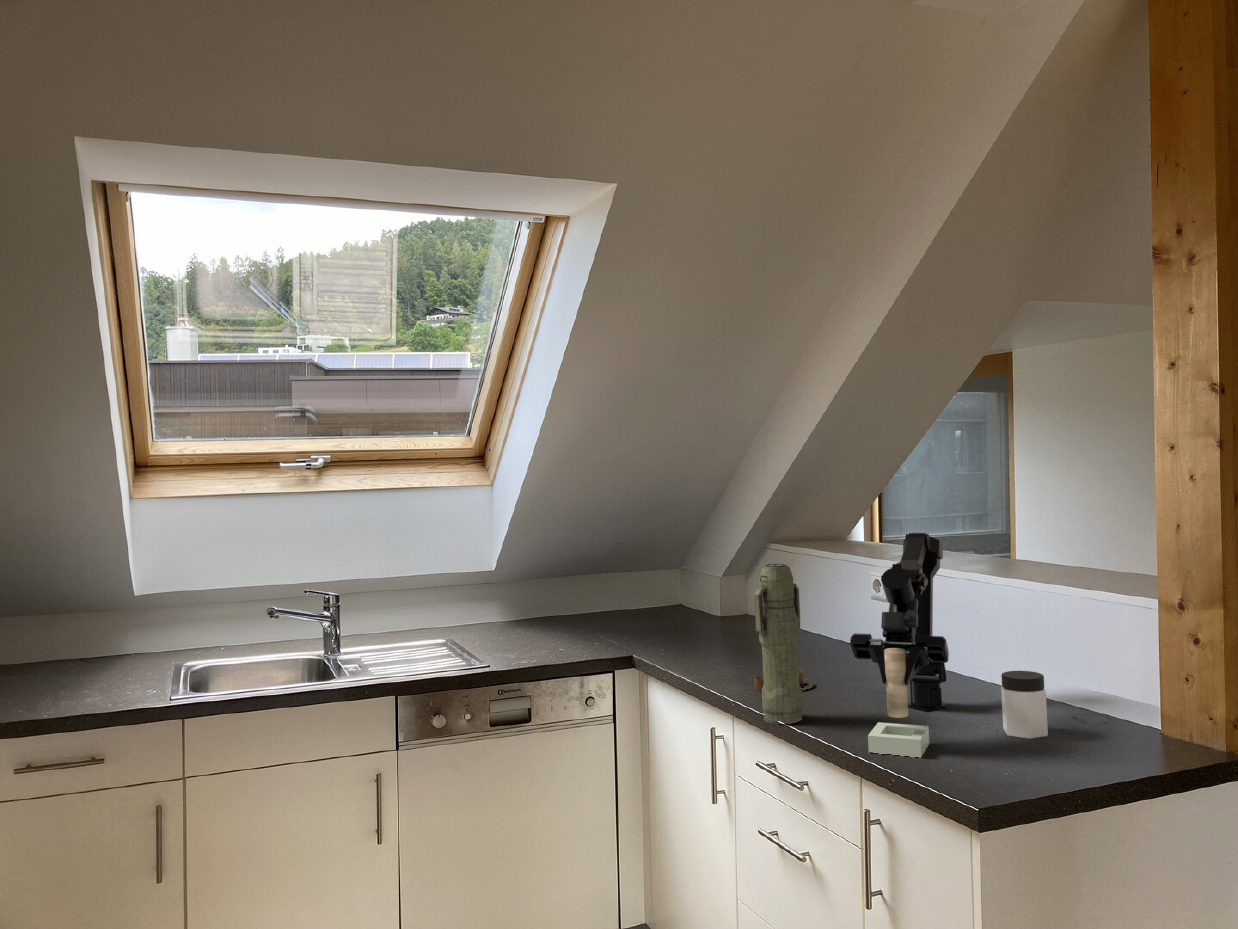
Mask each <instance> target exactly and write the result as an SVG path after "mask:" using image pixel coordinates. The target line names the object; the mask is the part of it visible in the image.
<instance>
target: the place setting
mask: <svg viewBox="0 0 1238 929" xmlns="http://www.w3.org/2000/svg"><path fill="white" fill-rule="evenodd" d="M798 671H799V684H800V685H802V684H803V683H802V682H803V679H806V680H809V681H812V680H811V679H808V678H805V677H804V670H803V669H801V668H798ZM753 679H754V680H753V681H754V682H753V683H754V688H755V689H756V690H757V692H758V693H757V695H758V694H762V689H763V685H764V677H763V676H754V677H753ZM801 683H802V684H801ZM813 683H814V681H813V682H812V684H811V685H813ZM811 685H806V686H804V687H809V686H811ZM813 686H814V685H813Z"/></svg>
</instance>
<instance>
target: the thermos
mask: <svg viewBox="0 0 1238 929" xmlns="http://www.w3.org/2000/svg"><path fill="white" fill-rule="evenodd" d="M758 580H759V581H758V582H759V587H758V588H756V589H755V592H754V594H753V599H754V617H755V618H754V620H755V631H756V632H757V633H758V634H759V635H758V637H759V638H758V639H759V644H760V645H761V651H762V652H761V654H762V672H763V673H762V674H763V675H762V677H764V685H763V689H761V693H762V697H761V698H762V700H761V703H762V704H761V705H762V710H763V721H764V722H765V723H767V724H771V725H776V726H777V723H778V721H785V720H793V719H798V718H802V717H803V707H804V706H803V691H802V689H801V687H802V686H801V684H799V671H798V669H799V655H798V654H799V653H798V645H799V642H800V635H799V634H800V631H799V629H801V608H800V607H801V606H800V605H801V604H800V589H799V587H798V585H797V583H794V576H793V572H792V571H791V568H790V565H787V564H786V563H769V564H765V565H764V566H762V568H761V570H760V573H759V577H758ZM776 722H777V723H776Z"/></svg>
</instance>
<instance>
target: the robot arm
mask: <svg viewBox="0 0 1238 929" xmlns="http://www.w3.org/2000/svg"><path fill="white" fill-rule="evenodd" d="M902 542H903V543H902V554H901V558H900V560H899V562H897V563H893V564H892V565H891V566H892V567H890V568H888V569H886V570H885V571H884V572H883V573H882V575H881V576H880V581H881V584H882V589H883V591H884V595H885V598H886V601H887V602H888V603H889V605H888V611H882V612H881V625H880V626H881V629H882V637H883V638H885V640H883V639H881V638H873V637H872V634H871V633H857V632H856V633H853V634H852V635H851V636H850V642H849V644H850V648H851V650H852V653H853V656H854V658H856V659H857V660H871V662H872V663H875V664H877V665H878V667H879V673H880V678H881V681H882V684H883V685H886V674H885V654H884V650H885V649H888V648H901V649H905V658H906V675H905V685H907V686H909V690H910V702H908V708H912V709H916V710H920V711H924V712H929V711H933V710H939V709H943V708H946V707H947V704H945V703H942V702H943V701H942V699H943V698H942V697H943V696H942V688H941V684H942V683H945V682H947V670H946V663H948V662H949V655H950V654H949V647H948V642H947V639H946V638H945V636H943V635H940V636H939V635H938V636H937V635H933V625H934V624H933V618H934V617H933V616H934V615H933V614H934V612H933V606H934V605H933V604H934V601H933V600H934V599H933V598H934V577H935V575H937V573H938V571H939V570H940V568H941V560H943V559H944V548H943V545H942V543H941V541H940V539H938V538H935V537H932V536H930V534H929V533H926V532H909V533H907V534H905V539H903V540H902Z"/></svg>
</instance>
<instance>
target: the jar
mask: <svg viewBox="0 0 1238 929" xmlns="http://www.w3.org/2000/svg"><path fill="white" fill-rule="evenodd" d="M1000 676H1001V685H1000V687H1001V688H1000V690H1001V707H1002V708H1001V709H1002V724H1003V726H1002V728H1003V730H1004V733H1005V734H1006V735H1007V736H1009V737H1016V738H1022V739H1029V740H1031V739H1037V738H1044V737H1048V736H1049V731H1048V730H1049V729H1048V728H1049V727H1048V709H1047V690H1046V689H1045V676H1044V674H1043V673H1040V672H1037V671H1031V670H1010V671H1004V672H1002V673H1001V675H1000Z"/></svg>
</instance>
